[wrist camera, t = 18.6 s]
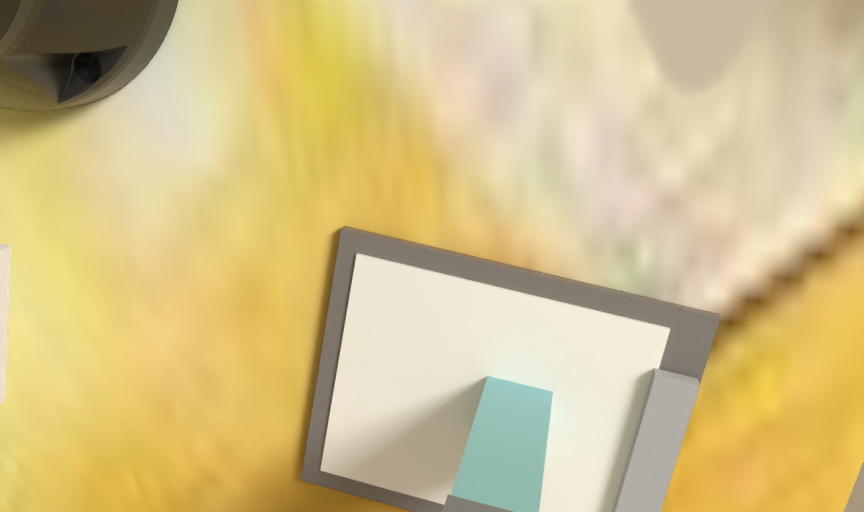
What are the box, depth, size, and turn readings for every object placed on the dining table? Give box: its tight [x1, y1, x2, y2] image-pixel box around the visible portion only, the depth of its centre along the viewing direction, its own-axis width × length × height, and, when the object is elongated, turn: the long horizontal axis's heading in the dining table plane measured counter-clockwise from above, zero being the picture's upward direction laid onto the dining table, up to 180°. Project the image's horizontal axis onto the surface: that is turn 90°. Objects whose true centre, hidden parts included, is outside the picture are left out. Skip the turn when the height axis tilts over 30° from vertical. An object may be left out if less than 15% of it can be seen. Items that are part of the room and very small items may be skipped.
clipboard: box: [301, 226, 720, 512], centre depth 40 cm, size 18×14×2 cm
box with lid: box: [442, 376, 553, 512], centre depth 34 cm, size 3×3×13 cm
